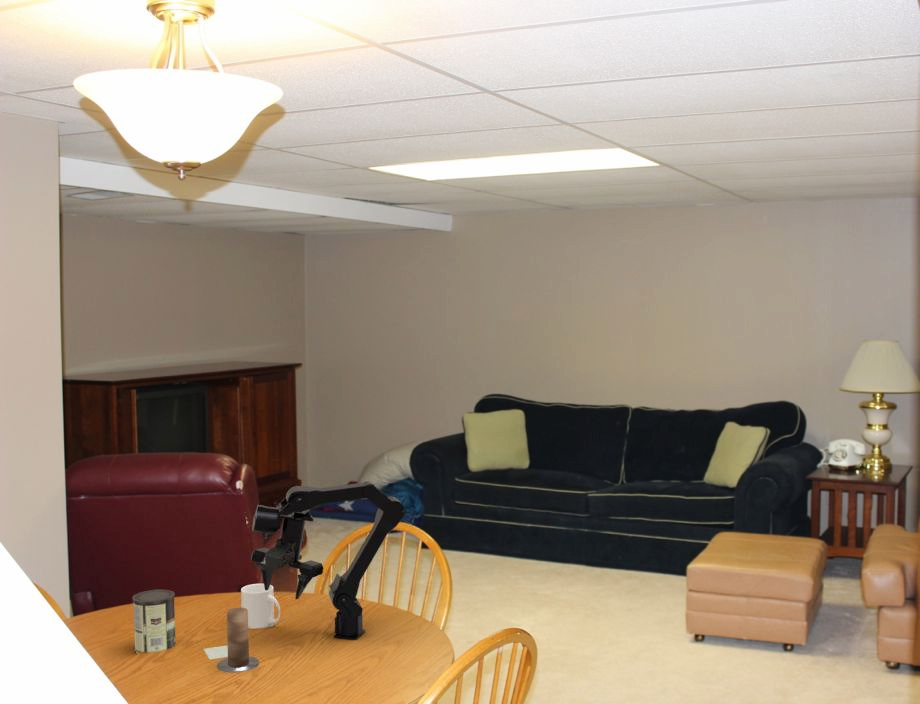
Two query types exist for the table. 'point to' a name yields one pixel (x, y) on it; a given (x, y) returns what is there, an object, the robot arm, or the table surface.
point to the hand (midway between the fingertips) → (281, 594)
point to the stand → (217, 652)
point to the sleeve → (237, 637)
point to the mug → (259, 605)
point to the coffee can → (154, 620)
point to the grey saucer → (224, 667)
